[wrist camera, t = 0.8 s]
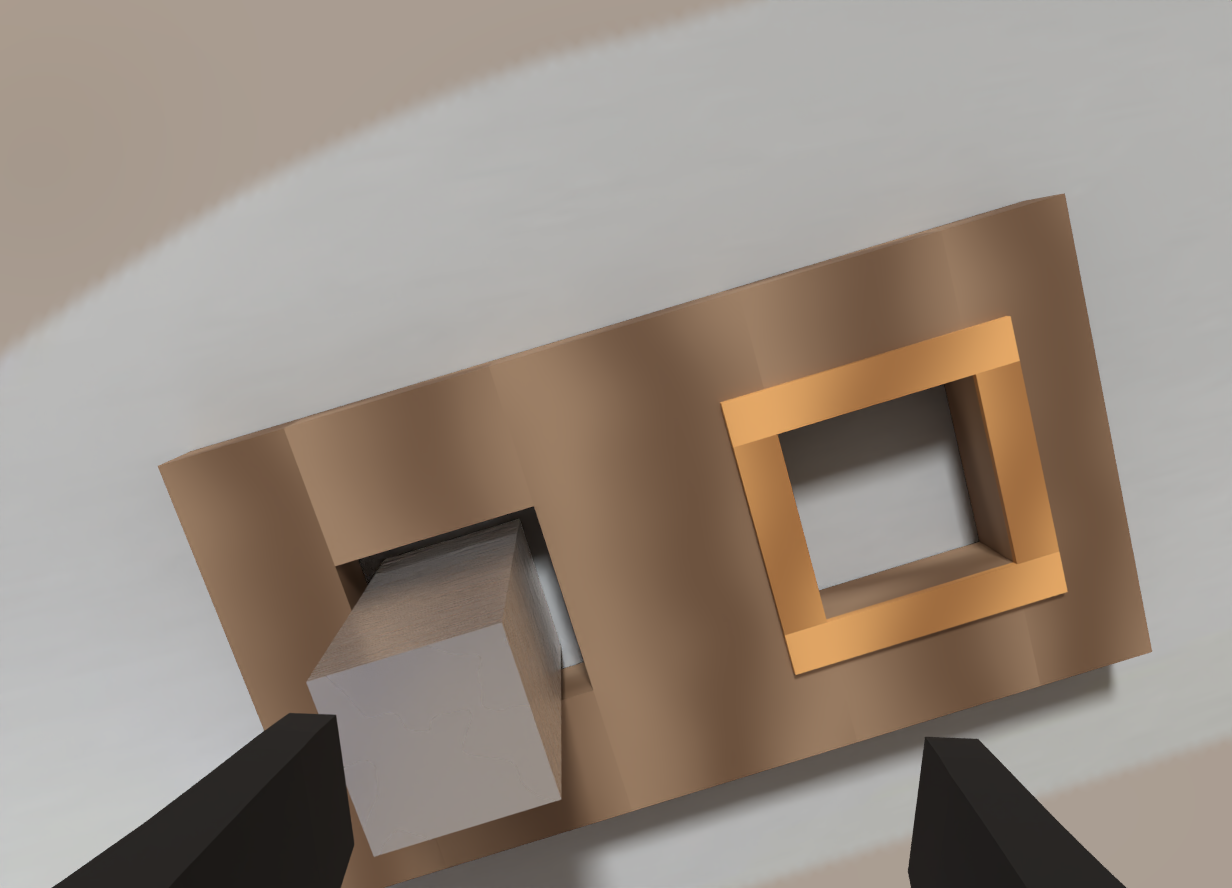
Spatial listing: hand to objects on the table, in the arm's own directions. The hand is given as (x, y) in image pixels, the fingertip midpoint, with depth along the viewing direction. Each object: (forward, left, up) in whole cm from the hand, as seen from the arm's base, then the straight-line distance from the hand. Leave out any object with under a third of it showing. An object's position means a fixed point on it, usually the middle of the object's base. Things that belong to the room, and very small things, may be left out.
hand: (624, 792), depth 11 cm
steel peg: (-4, 0, -15) cm, 15 cm away
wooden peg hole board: (+1, -3, -15) cm, 15 cm away
